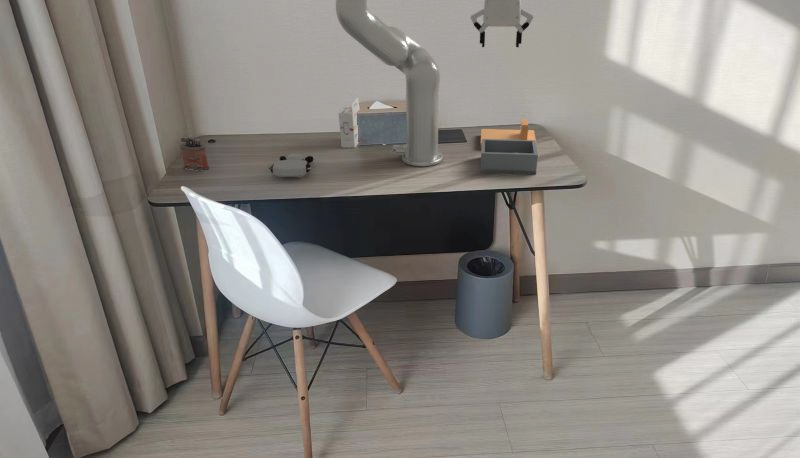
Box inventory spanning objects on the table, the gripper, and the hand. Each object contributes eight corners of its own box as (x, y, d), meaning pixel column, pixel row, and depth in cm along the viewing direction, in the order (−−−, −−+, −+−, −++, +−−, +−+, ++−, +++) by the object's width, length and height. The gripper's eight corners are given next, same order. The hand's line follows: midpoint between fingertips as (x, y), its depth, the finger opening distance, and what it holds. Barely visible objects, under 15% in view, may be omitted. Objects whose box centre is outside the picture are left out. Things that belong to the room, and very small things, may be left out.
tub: (480, 172, 178) (481, 153, 175) (481, 157, 188) (481, 138, 185) (536, 174, 176) (537, 154, 173) (533, 158, 186) (535, 140, 183)
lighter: (211, 167, 186) (205, 136, 181) (205, 171, 183) (199, 140, 178) (188, 165, 188) (182, 134, 183) (182, 169, 185) (175, 138, 180)
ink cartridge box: (347, 138, 205) (344, 96, 198) (361, 139, 205) (359, 96, 198) (340, 147, 198) (337, 103, 191) (355, 148, 197) (352, 104, 190)
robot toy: (279, 165, 188) (267, 182, 175) (277, 151, 187) (265, 167, 173) (318, 165, 188) (309, 181, 174) (317, 151, 186) (308, 166, 172)
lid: (480, 149, 193) (481, 127, 190) (481, 135, 205) (482, 114, 202) (535, 151, 191) (537, 129, 188) (533, 136, 203) (535, 115, 199)
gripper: (471, -16, 163) (469, 49, 171) (536, -17, 161) (531, 49, 169) (472, -20, 169) (470, 43, 178) (535, -20, 167) (530, 43, 175)
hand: (500, 46), depth 173 cm, fingers open, 9 cm apart
